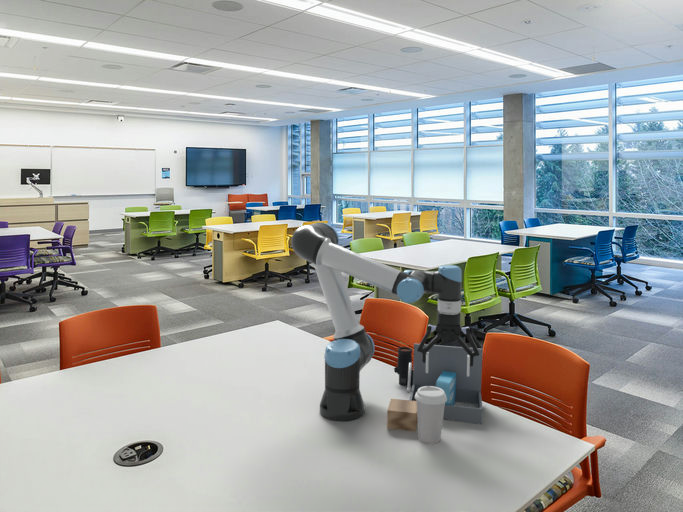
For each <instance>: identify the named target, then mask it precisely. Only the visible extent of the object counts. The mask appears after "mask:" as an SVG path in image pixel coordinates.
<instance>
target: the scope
mask: <svg viewBox="0 0 683 512" xmlns="http://www.w3.org/2000/svg"><path fill="white" fill-rule="evenodd" d="M412 353H413V349H412V348H411V347H407V346H400V347H398V348H397V366H395V367H394V368H393V370H394V373H395V374H397V375H398V384H399V385H400V386H402V387H403V386H405V387H406V386H407V385H408V371H409V363H412V362H413V359H412V358H413V357H412V355H413V354H412ZM412 364H413V363H412ZM412 386H413V368H412V369H411V383H410V387H412Z"/></svg>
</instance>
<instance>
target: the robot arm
mask: <svg viewBox="0 0 683 512" xmlns="http://www.w3.org/2000/svg"><path fill="white" fill-rule="evenodd" d="M339 241H340V239H339V234H338V232H337V230H336V229H335V228H334V226H332V225H330V224H329V223H325V222H315V223H311V224H305V225H304V224H303V225H301V226H300V227H298V228H297V229H295V231H294V232H293V234H292V235H291V241H290V243H291V248H292V251H294V252H293V253H295V255H296V256H298V257H299V258H300V259H302V260H305V261H307V262H308V265H309V266H311V267H312V268H314V270H315V272H316V276H317V279H318V282H319V284H320V285H319V286H320V288H321V290H322V293H323V296H324V300H325V302H326V306H327V309H328V311H329V315H330V318H331V321H332V323H333V327H334V329H335V332H334V335H333V340H331V342H329V343H328V344H327V345H326V347H325V350H324V351H325V353H324V391H323V393H322V397H321V400H320V402H319V413H320V415H321V416H322V417H324V418H326V419H329V420H332V421H337V422H338V421H339V422H347V421H353V420H357V419H359V418H360V417H362V416H363V415H364V413H365V402H364V398H363V396H362V392H361V390H360V376H361V375H360V374H361V373H360V372H361V371H362V370H363V369H364V367H365V366H366V365H368V364H369V362H371V360H372V358H373V356H374V354H375V343H374V340H373V338H372V337H371V335H369V334H368V333H367V332H366V330H365V327H364V325H362V324H360V323H359V321H358V318H357V315H356V312H355V309H354V307H353V304H352V300H351V297H350V295H349V291H348V288H347V285H346V282H345V279H344V275H343V273H344V274H346V275H349V276H351V277H352V278H355V279H358V280H361V281H362V282H366V283H367V284H370V285H372V286H375V287H377V288H379V289H381V290H384V291H386V292H389V293H391V294H393V295H395V296H398V299H399V300H400V301H402V302H403V303H406V304H412V303H415V302H417V301H419V300H420V299H421V298H422V297H423V295H425V294H433V295H434V294H435V295H436V294H437V321H436V325H432V324H431V323H429V324H428V325H427V330H426V332H425V334H424V336H423V337H422V340H421V341H420V342H419V343H418V344H419V346H418V349H417V351H418V352H421V353H422V354H423V363H426V373H428V362H429V352H428V351H429V350H430V349H431V348H432V347H433V346H434V345H436V343H438V342H439V341H440V340H444V341H445V340H446V341H447V340H449V341H454V340H455V341H456V342H457V343H458V344H459V345H460V347H463V348H464V350H465V351H466V352H467V353H468V355H467V376H469V371H470V366H473V358H474V356H479V350H478V346H477V344H476V342H475V341H474V339H473V336H472V334H471V329H470V328H471V327H470V326H465V327H462V326H461V316H462V315H461V313H460V312H461V311H462V287H463V286H462V284H463V283H462V282H463V280H462V277H463V275H462V274H463V273H462V269H461V267H460V266H458V265H453V264H448V265H447V264H444V265H439V267H438V270H436V271H435V270H434V271H432V270H421V269H420V270H418V269H405V270H404V271H401V270H399V269H397V268H394V267H392V266H390V265H387V264H384V263H382V262H380V261H377V260H375V259H372V258H369V257H368V256H365V255H363V254H360V253H357V252H355V251H353V250H350V249H348V248H346V247H343V246H341V245H339ZM434 331H436V333H437V334H436V335H435V336H434V338H432V339H431V341H429V342H428V345H427V346H426V347H425V348H423V346H424V344H426V342H427V340H428V338H429V337H430V335H431V333H433V332H434ZM461 332H462V333H463V334H464V335H465V336H466V338H467V340H468V342H469V344H470V346H471V347H470V346H468V344H467V343H466V342H465V340H463V338H462V337H461V335H460V334H461ZM470 348H473V350H474V351H473V352H472V350H471V349H470Z"/></svg>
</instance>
